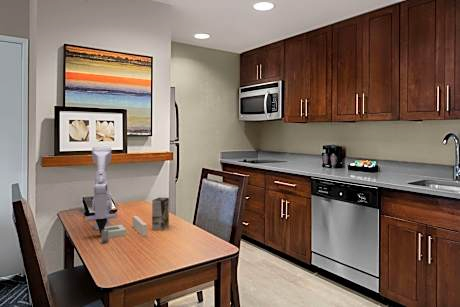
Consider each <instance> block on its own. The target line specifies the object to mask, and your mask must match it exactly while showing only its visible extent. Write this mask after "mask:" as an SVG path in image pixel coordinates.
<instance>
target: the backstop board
mask: <svg viewBox="0 0 460 307" xmlns="http://www.w3.org/2000/svg"><path fill="white" fill-rule="evenodd" d="M147 225H148V224H147V223H146V222H144V221H143V220H142V219H141V218H140V217H139V216H137V215H132V228H133V229H135V230H136V232H138V233H139V235H140V236H141V237H147V236H148V234H147V233H148V232H147V231H148V228H147Z"/></svg>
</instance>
